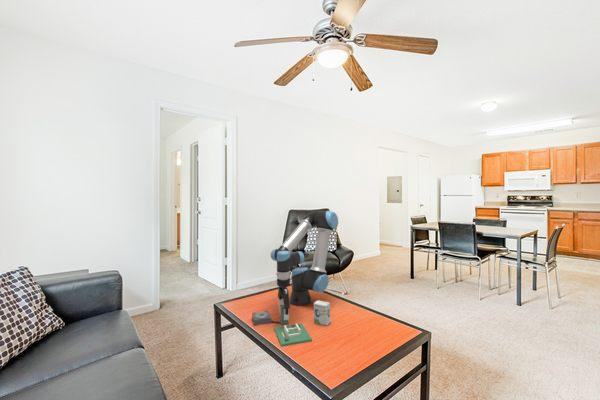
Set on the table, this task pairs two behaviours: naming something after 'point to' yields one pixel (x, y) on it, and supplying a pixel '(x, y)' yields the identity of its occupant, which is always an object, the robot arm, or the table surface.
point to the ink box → (322, 312)
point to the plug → (282, 315)
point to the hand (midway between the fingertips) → (283, 314)
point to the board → (292, 334)
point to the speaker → (261, 318)
